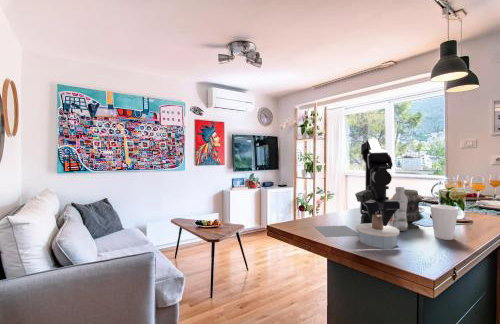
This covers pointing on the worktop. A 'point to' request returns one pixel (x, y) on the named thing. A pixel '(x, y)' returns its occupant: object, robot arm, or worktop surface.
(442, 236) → the foam cup
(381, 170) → the robot arm
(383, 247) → the dish
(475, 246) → the worktop surface
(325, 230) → the mat
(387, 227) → the lid
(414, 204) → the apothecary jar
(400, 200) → the plastic bottle
